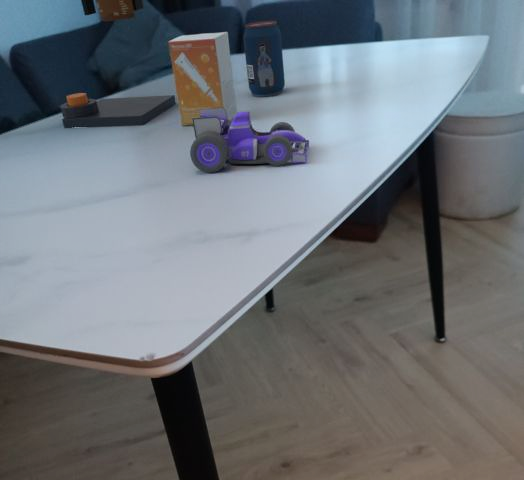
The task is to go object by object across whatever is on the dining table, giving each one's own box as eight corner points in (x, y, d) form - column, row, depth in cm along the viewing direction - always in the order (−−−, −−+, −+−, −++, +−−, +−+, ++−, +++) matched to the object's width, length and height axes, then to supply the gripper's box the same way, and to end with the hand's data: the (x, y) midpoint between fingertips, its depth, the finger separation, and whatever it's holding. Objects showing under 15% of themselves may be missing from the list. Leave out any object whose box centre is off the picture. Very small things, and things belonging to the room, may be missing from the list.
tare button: (65, 108, 108) (62, 98, 107) (75, 103, 111) (72, 93, 110) (82, 107, 107) (79, 97, 106) (92, 102, 110) (89, 92, 109)
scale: (58, 128, 109) (52, 108, 107) (98, 107, 120) (93, 89, 118) (143, 125, 104) (138, 104, 102) (176, 104, 115) (172, 84, 114)
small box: (181, 126, 100) (166, 41, 93) (195, 116, 105) (182, 34, 98) (226, 125, 98) (214, 37, 91) (238, 115, 103) (228, 30, 96)
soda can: (272, 87, 119) (266, 19, 112) (292, 91, 114) (287, 20, 107) (243, 94, 116) (235, 25, 109) (262, 99, 111) (254, 27, 104)
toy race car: (306, 166, 76) (302, 114, 73) (193, 174, 79) (184, 123, 75) (309, 144, 84) (307, 96, 80) (206, 152, 86) (199, 105, 83)
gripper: (151, -172, 88) (179, 3, 101) (30, -148, 94) (71, 14, 107) (128, -178, 83) (161, 9, 95) (1, -152, 89) (48, 20, 101)
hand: (114, 11), depth 101 cm, fingers closed on food container, 8 cm apart
